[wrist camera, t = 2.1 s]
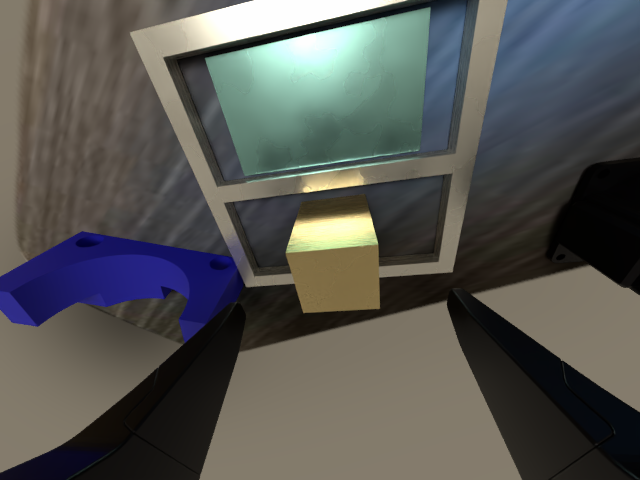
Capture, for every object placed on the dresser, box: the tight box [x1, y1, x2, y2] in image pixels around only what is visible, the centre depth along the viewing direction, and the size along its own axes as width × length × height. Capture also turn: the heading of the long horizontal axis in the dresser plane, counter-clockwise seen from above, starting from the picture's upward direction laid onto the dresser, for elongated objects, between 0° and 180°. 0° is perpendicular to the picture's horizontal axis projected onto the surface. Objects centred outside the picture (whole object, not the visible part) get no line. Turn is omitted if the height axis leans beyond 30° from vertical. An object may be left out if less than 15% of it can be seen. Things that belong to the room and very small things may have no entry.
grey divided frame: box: [130, 0, 508, 287], centre depth 13 cm, size 15×15×1 cm
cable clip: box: [0, 231, 243, 343], centre depth 16 cm, size 12×4×6 cm, turn 80°
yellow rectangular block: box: [286, 194, 380, 313], centre depth 13 cm, size 4×4×6 cm
